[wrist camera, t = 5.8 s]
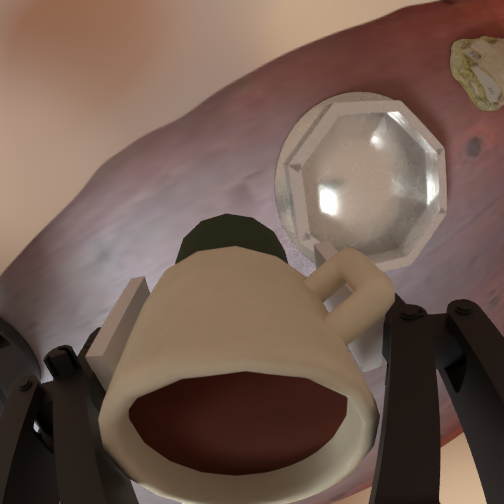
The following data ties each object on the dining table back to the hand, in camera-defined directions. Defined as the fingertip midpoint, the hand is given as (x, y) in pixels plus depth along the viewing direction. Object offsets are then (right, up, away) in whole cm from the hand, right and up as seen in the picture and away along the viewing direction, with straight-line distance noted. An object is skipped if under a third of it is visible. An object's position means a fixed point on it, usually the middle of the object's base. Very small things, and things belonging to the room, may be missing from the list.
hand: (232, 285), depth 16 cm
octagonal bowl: (+14, +9, +17) cm, 24 cm away
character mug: (0, +1, +3) cm, 3 cm away
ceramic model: (+33, +27, +13) cm, 44 cm away
